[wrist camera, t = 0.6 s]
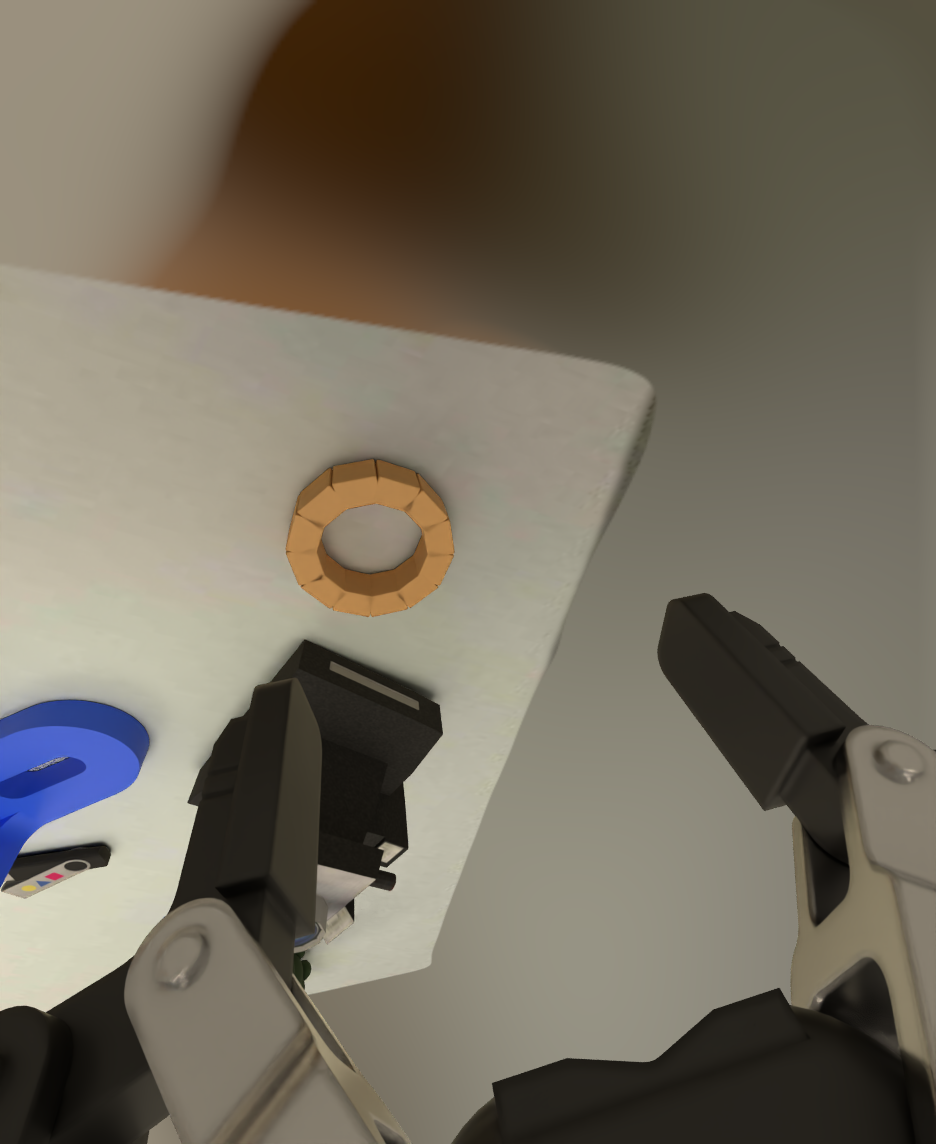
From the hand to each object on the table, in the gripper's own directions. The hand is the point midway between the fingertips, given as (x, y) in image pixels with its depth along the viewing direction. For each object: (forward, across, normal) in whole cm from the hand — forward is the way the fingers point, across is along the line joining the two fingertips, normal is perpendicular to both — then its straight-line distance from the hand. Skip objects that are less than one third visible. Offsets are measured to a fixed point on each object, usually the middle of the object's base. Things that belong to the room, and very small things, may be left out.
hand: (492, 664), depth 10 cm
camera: (+19, +10, +25) cm, 33 cm away
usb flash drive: (+19, +35, +34) cm, 53 cm away
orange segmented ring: (+19, +3, +7) cm, 20 cm away
